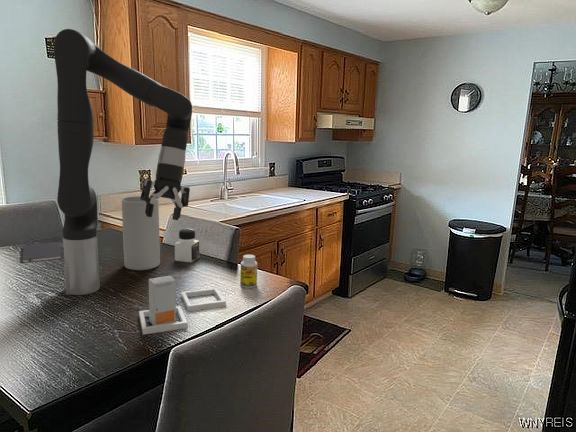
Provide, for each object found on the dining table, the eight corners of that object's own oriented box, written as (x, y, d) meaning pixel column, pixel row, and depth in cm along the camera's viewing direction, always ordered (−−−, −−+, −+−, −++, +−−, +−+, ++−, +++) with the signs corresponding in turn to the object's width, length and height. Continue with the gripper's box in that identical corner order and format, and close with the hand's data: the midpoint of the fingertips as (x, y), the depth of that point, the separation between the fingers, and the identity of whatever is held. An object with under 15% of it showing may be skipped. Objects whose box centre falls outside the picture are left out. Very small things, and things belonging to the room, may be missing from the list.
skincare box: (154, 327, 107) (152, 283, 105) (149, 321, 111) (147, 278, 108) (176, 322, 111) (176, 279, 108) (171, 316, 114) (170, 274, 112)
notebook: (61, 259, 158) (58, 245, 176) (61, 255, 158) (58, 242, 175) (22, 264, 152) (23, 248, 169) (22, 260, 151) (23, 245, 169)
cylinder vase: (116, 267, 150) (113, 199, 145) (140, 258, 162) (138, 195, 157) (144, 273, 146) (142, 203, 141) (167, 263, 157) (165, 198, 152)
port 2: (188, 311, 117) (188, 306, 117) (180, 294, 129) (180, 289, 129) (225, 305, 122) (225, 301, 122) (215, 290, 133) (215, 285, 133)
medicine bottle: (191, 262, 159) (191, 232, 157) (174, 260, 161) (174, 230, 158) (199, 257, 166) (199, 228, 164) (182, 255, 167) (182, 226, 165)
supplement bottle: (237, 287, 137) (237, 257, 135) (244, 281, 142) (244, 252, 140) (253, 289, 135) (253, 259, 133) (259, 283, 140) (260, 254, 138)
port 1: (142, 334, 103) (142, 329, 103) (138, 313, 115) (138, 308, 115) (187, 327, 108) (187, 322, 107) (179, 307, 119) (179, 302, 119)
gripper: (185, 168, 130) (177, 219, 130) (142, 158, 120) (133, 214, 120) (198, 169, 125) (190, 222, 125) (155, 159, 114) (145, 217, 114)
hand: (162, 218), depth 122 cm, fingers open, 8 cm apart
